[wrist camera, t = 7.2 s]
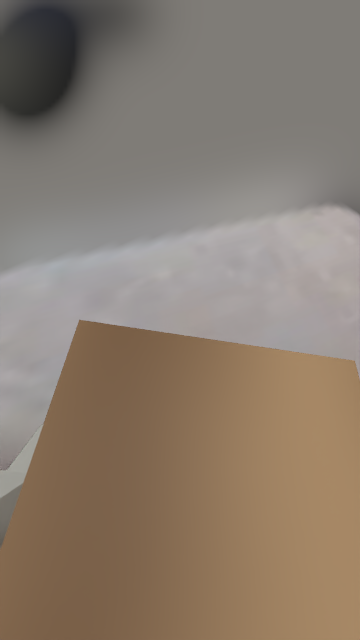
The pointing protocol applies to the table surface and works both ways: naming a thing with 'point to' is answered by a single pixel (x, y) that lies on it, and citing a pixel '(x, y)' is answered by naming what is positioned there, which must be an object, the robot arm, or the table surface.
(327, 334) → the table surface
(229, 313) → the table surface
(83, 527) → the oak block
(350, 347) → the table surface
